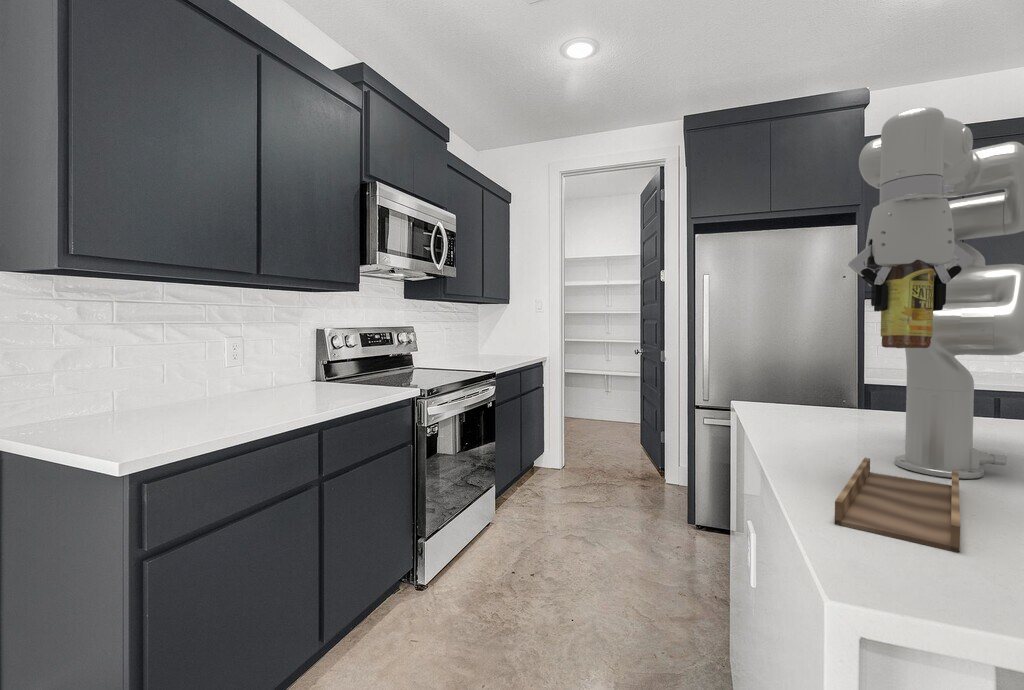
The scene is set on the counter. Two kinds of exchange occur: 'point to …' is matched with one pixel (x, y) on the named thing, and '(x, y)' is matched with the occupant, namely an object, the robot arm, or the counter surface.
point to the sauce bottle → (909, 306)
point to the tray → (901, 508)
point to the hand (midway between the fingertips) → (907, 309)
